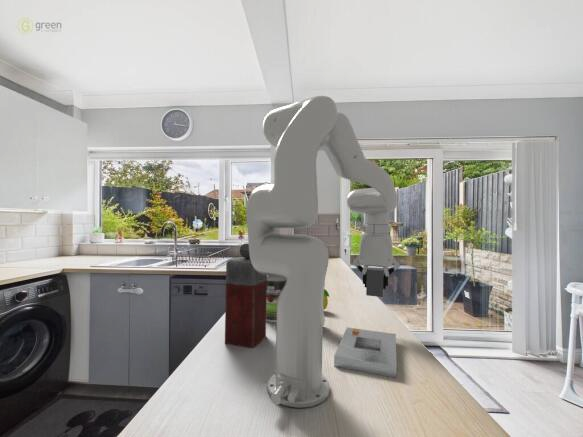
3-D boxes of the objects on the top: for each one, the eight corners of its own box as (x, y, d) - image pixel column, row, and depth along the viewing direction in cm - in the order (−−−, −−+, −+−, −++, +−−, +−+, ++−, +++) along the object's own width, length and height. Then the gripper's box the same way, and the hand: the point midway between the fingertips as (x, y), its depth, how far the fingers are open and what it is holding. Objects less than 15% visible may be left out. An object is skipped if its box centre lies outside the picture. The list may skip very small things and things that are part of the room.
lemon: (329, 314, 106) (329, 287, 106) (313, 314, 107) (313, 287, 107) (327, 309, 113) (328, 284, 113) (313, 308, 113) (313, 283, 114)
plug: (383, 297, 87) (383, 270, 87) (366, 295, 88) (366, 269, 89) (383, 291, 95) (384, 267, 95) (368, 289, 97) (369, 266, 97)
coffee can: (284, 323, 96) (285, 282, 96) (255, 320, 99) (256, 280, 99) (291, 314, 106) (292, 276, 106) (265, 311, 109) (266, 274, 109)
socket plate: (396, 377, 63) (396, 363, 63) (334, 366, 68) (334, 353, 68) (395, 342, 82) (395, 331, 82) (346, 335, 87) (346, 325, 87)
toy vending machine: (269, 333, 87) (270, 242, 88) (253, 348, 77) (255, 244, 77) (243, 329, 90) (244, 241, 91) (224, 343, 80) (226, 243, 80)
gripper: (347, 229, 90) (346, 287, 90) (405, 231, 85) (404, 292, 84) (351, 229, 97) (349, 283, 97) (404, 231, 92) (403, 287, 91)
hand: (375, 286), depth 90 cm, fingers closed on plug, 5 cm apart
